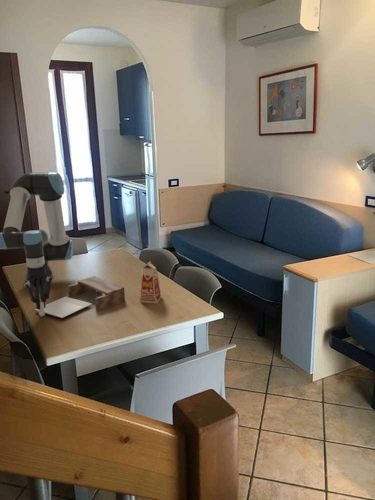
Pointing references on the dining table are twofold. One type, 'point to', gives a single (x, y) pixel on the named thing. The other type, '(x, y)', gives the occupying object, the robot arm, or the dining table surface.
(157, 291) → the milk carton
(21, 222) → the robot arm
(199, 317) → the dining table surface
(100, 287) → the overhang shelf
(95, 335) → the dining table surface
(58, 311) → the plate
